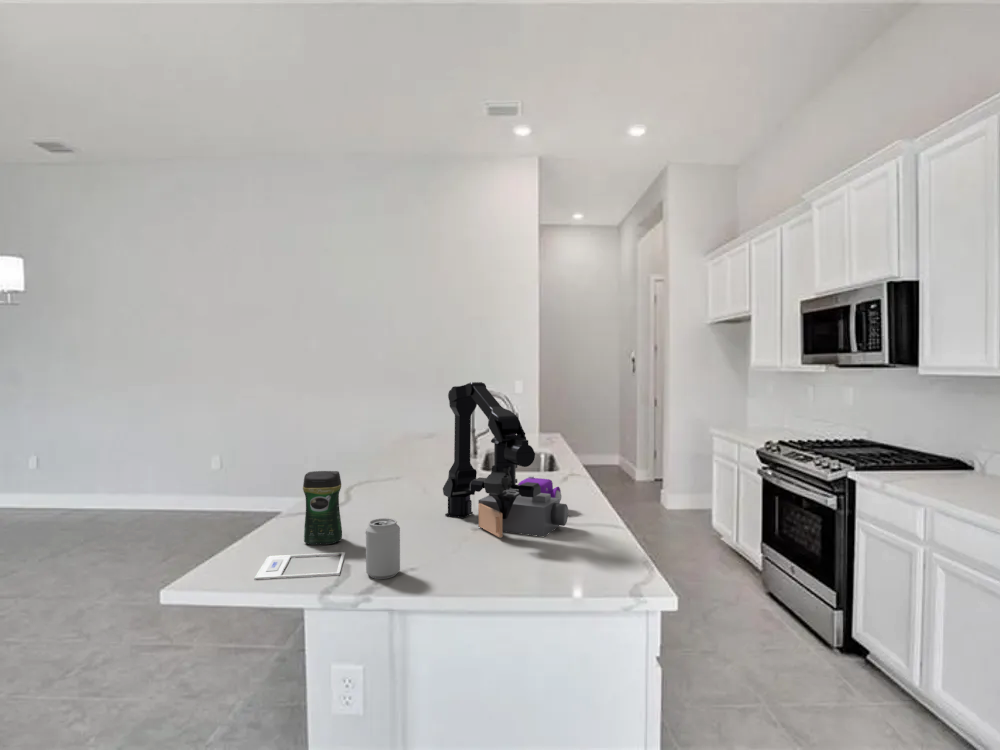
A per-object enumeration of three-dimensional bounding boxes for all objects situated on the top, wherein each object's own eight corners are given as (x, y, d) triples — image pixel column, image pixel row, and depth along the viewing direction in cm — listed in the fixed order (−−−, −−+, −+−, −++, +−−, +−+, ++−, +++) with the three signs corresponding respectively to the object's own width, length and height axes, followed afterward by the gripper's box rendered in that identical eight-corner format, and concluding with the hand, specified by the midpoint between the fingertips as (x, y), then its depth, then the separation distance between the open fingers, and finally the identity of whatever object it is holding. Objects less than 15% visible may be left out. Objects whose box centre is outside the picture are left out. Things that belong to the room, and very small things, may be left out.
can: (368, 568, 140) (368, 516, 140) (401, 567, 141) (401, 516, 141) (363, 580, 133) (363, 525, 132) (398, 579, 133) (398, 525, 133)
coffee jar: (344, 536, 165) (343, 468, 165) (338, 545, 158) (338, 473, 157) (307, 537, 165) (307, 468, 164) (300, 546, 157) (299, 474, 156)
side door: (475, 526, 172) (475, 503, 172) (481, 525, 173) (481, 503, 173) (497, 537, 162) (497, 513, 161) (502, 537, 162) (502, 513, 162)
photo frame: (268, 555, 148) (344, 551, 151) (268, 559, 148) (344, 555, 151) (254, 576, 133) (339, 572, 136) (254, 581, 133) (339, 577, 136)
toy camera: (559, 515, 188) (560, 483, 188) (516, 513, 191) (516, 481, 190) (563, 507, 199) (563, 476, 198) (521, 504, 201) (521, 474, 201)
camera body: (478, 527, 174) (478, 494, 173) (496, 518, 185) (497, 486, 184) (554, 538, 164) (554, 503, 164) (569, 527, 175) (569, 494, 174)
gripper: (459, 463, 161) (459, 522, 161) (524, 468, 153) (524, 530, 153) (479, 457, 171) (479, 512, 171) (541, 462, 163) (541, 520, 163)
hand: (504, 518), depth 165 cm, fingers closed
